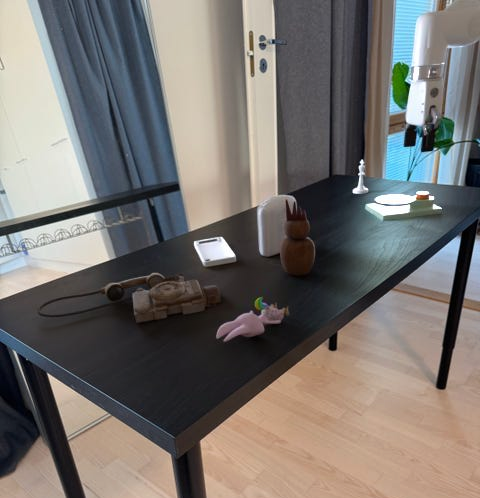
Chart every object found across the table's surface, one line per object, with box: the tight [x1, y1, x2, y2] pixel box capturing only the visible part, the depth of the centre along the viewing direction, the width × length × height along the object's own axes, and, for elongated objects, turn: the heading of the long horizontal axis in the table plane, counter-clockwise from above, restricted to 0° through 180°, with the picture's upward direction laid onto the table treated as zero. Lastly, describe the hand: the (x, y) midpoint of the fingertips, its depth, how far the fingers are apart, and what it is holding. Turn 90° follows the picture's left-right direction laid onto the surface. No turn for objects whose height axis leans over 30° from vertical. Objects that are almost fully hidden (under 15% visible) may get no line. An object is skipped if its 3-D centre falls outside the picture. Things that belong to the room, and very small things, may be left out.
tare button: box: [415, 190, 430, 200], centre depth 113 cm, size 3×3×2 cm
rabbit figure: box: [215, 296, 290, 343], centre depth 65 cm, size 6×6×15 cm
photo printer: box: [256, 194, 298, 257], centre depth 94 cm, size 10×4×12 cm, turn 132°
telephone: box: [37, 272, 222, 324], centre depth 77 cm, size 15×33×4 cm, turn 105°
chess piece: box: [352, 159, 369, 195], centre depth 133 cm, size 5×5×10 cm
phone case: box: [193, 236, 237, 268], centre depth 98 cm, size 7×1×15 cm
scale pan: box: [374, 194, 414, 207], centre depth 112 cm, size 10×10×1 cm
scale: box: [364, 195, 443, 222], centre depth 114 cm, size 16×12×3 cm
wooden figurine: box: [279, 199, 316, 277], centre depth 81 cm, size 7×6×15 cm
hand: (417, 149), depth 110 cm, fingers open, 9 cm apart
